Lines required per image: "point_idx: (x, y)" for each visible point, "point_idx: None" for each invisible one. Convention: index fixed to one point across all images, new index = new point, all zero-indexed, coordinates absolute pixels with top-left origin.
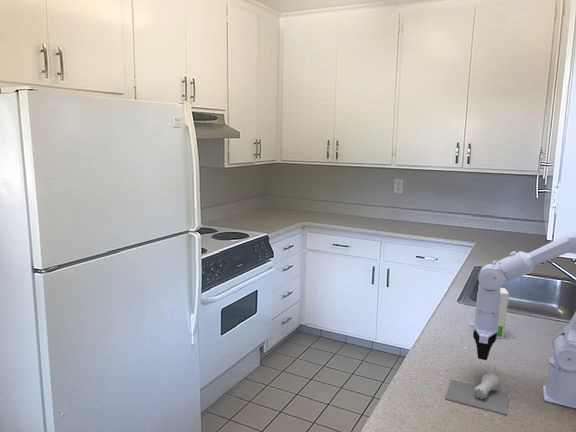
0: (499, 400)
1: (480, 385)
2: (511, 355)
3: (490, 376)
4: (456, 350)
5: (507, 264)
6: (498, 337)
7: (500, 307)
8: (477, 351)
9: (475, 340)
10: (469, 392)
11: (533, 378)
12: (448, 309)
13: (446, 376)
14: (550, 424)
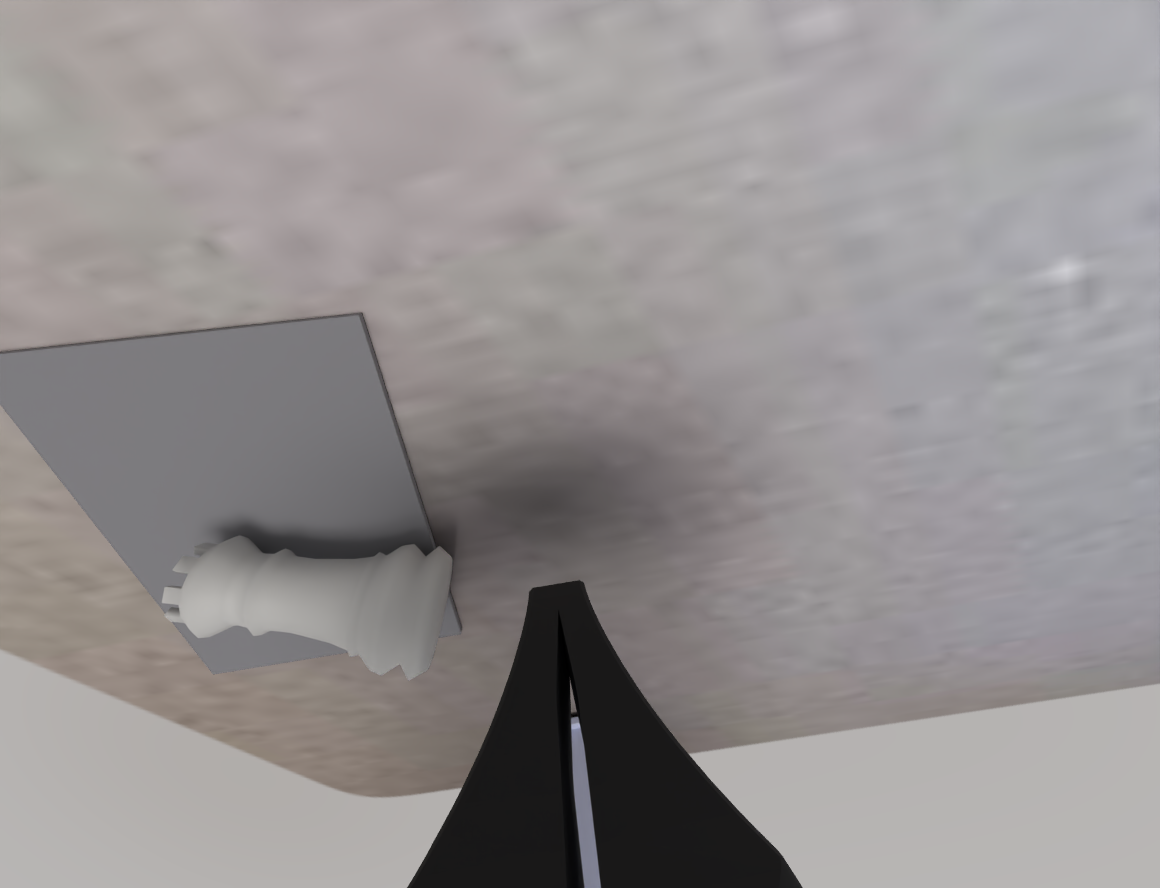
0: None
1: (243, 599)
2: (964, 548)
3: (366, 657)
4: (988, 212)
5: None
6: None
7: None
8: (516, 655)
9: (419, 871)
10: (269, 483)
11: (715, 663)
12: None
13: (405, 258)
14: (319, 768)
